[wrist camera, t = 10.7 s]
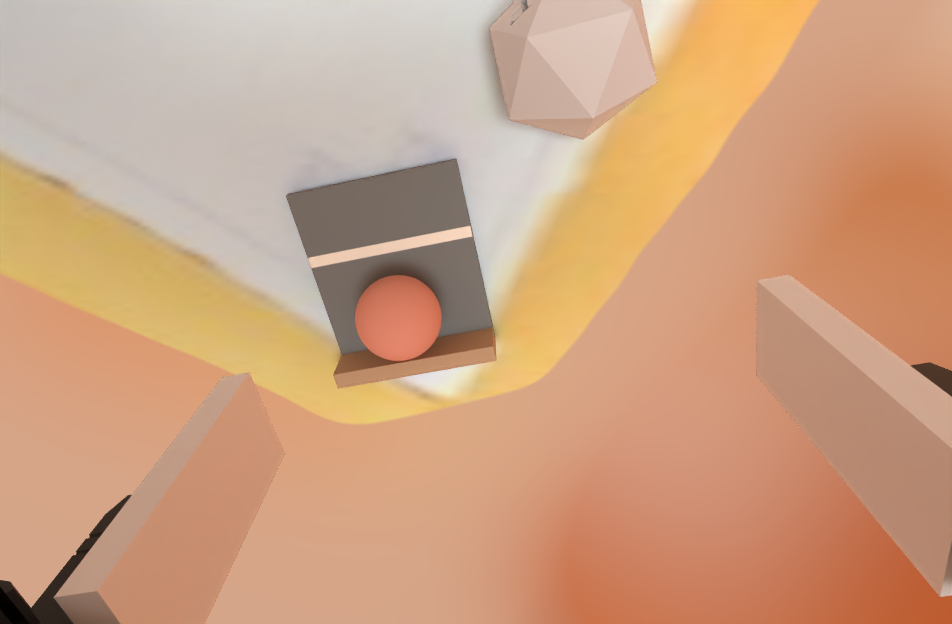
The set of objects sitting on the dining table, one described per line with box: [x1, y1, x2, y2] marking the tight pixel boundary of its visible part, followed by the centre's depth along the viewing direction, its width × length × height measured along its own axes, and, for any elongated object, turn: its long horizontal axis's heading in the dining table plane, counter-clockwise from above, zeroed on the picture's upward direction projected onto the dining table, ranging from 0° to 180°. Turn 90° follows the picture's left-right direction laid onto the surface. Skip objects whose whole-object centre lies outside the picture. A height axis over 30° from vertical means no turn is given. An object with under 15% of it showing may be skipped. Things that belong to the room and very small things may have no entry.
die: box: [489, 0, 657, 139], centre depth 32 cm, size 8×9×10 cm
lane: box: [286, 159, 496, 388], centre depth 41 cm, size 14×12×4 cm
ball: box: [355, 275, 442, 361], centre depth 40 cm, size 6×6×6 cm
